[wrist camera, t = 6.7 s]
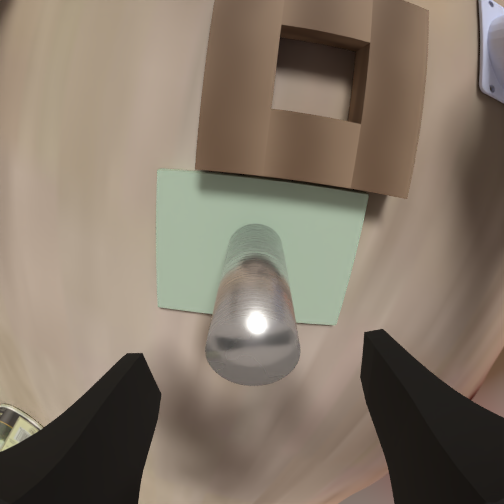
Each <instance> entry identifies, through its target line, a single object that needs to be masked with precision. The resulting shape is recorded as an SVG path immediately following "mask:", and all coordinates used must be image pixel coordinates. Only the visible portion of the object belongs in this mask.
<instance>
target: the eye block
mask: <svg viewBox="0 0 504 504" xmlns="http://www.w3.org/2000/svg"><path fill="white" fill-rule="evenodd" d="M428 34H429V10H426V9H424V8H422V7H419V6H417V5H414V4H411V3H409V2H406V1H403V0H215V2H214V8H213V14H212V21H211V27H210V34H209V41H208V48H207V56H206V64H205V72H204V80H203V89H202V98H201V107H200V117H199V128H198V139H197V151H196V163H195V169H196V170H208V171H219V172H230V173H239V174H249V175H258V176H266V177H275V178H283V179H290V180H298V181H305V182H312V183H319V184H325V185H332V186H338V187H344V188H350V189H356V190H362V191H368V192H373V193H379V194H384V195H389V196H394V197H399V198H404V199H407V197H408V192H409V187H410V183H411V178H412V173H413V168H414V162H415V157H416V151H417V145H418V139H419V132H420V125H421V118H422V110H423V102H424V93H425V83H426V71H427V57H428ZM280 38H287V39H294V40H301V41H307V42H312V43H318V44H323V45H328V46H333V47H337V48H342V49H346V50H350V51H355V52H356V56H355V66H354V75H353V84H352V92H351V101H350V108H349V116H348V121H344V120H338V119H333V118H328V117H322V116H317V115H311V114H305V113H298V112H292V111H285V110H277V109H271V106H272V98H273V90H274V81H275V73H276V65H277V57H278V48H279V40H280Z"/></svg>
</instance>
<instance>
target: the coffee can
mask: <svg viewBox="0 0 504 504" xmlns="http://www.w3.org/2000/svg"><path fill="white" fill-rule="evenodd" d="M42 428H43V427H42V426H41V425H40V424H39V423H38V422H37V421H35V420H34V419H33V418H31V417H30V416H29V415H27V414H26V413H24V412H23V411H21V410H19V409H17V408H15V407H13V406H11V405H8V404H1V405H0V452H1V451H3V450H6V449H8V448H10V447H12V446H14V445H16V444H18V443H20V442H21V441H23V440H25V439H26V438H28V437H30V436H31V435H33V434H35V433H36V432H38V431H40V430H41V429H42Z"/></svg>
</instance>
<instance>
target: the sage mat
mask: <svg viewBox="0 0 504 504" xmlns="http://www.w3.org/2000/svg"><path fill="white" fill-rule="evenodd" d="M368 197H369V194H367V193H366V192H360V191H354V190H348V189H342V188H336V187H329V186H323V185H316V184H309V183H302V182H295V181H287V180H280V179H272V178H263V177H254V176H245V175H236V174H226V173H215V172H203V171H191V170H177V169H162V168H160V169H159V170H157V200H156V269H157V298H158V307H162V308H169V309H176V310H183V311H191V312H199V313H207V314H213V310H214V305H215V301H216V296H217V292H218V287H219V283H220V278H221V274H222V269H223V265H224V261H225V256H226V252H227V248H228V243H229V240H230V238H231V236H232V235H233V233H234V232H235V231H236V230H238V229H239V228H241V227H242V226H245V225H248V224H262V225H266V226H268V227H270V228H271V229H273V230H274V231H275V232H276V233H277V234H278V235H279V237H280V239H281V241H282V245H283V251H284V256H285V262H286V267H287V273H288V278H289V284H290V290H291V296H292V301H293V307H294V313H295V319H296V323H309V324H324V325H336V324H337V320H338V317H339V314H340V310H341V307H342V303H343V300H344V296H345V293H346V289H347V286H348V282H349V278H350V274H351V271H352V267H353V263H354V259H355V255H356V251H357V247H358V243H359V238H360V234H361V230H362V225H363V221H364V216H365V212H366V207H367V202H368Z"/></svg>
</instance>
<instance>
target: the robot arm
mask: <svg viewBox="0 0 504 504" xmlns="http://www.w3.org/2000/svg"><path fill="white" fill-rule="evenodd" d="M478 2H479V17H480V76H479V87H480V90H481V91H482V92H483V93H485V94H487V95H489V96H491V97H492V98H494V99H496V100H498V101H500V102H502V103H504V8H503V7H502V6H500V5H499V4H497V3H496V2H494V1H493V0H478ZM489 4H490V5H489ZM490 87H491V91H490ZM360 378H361V382H362V387H363V391H364V395H365V400H366V404H367V407H368V409H369V412H370V415H371V418H372V421H373V423H374V426H375V429H376V432H377V435H378V438H379V440H380V443H381V446H382V449H383V452H384V455H385V458H386V462H387V465H388V470H389V475H390V480H391V485H392V491H393V497H394V503H395V504H504V418H503V417H501V416H499V415H497V414H495V413H493V412H491V411H489V410H487V409H485V408H483V407H481V406H479V405H478V404H476V403H474V402H473V401H471V400H469V399H468V398H466V397H465V396H463V395H461V394H460V393H458V392H457V391H455V390H454V389H453V388H451V387H450V386H448V385H447V384H446V383H444V382H443V381H442V380H440V379H439V378H438V377H436V376H435V375H434V374H433V373H432V372H430V371H429V370H428V369H427V368H426V367H424V366H423V365H422V364H421V363H420V362H419V361H417V360H416V359H415V358H414V357H413V356H412V355H411V354H409V353H408V352H407V351H406V350H405V349H404V348H403V347H402V346H401V345H400V344H399V343H397V342H396V341H395V340H394V339H393V338H392V337H391V336H390V335H389V334H388V333H387V332H385V331H384V330H383V329H380V330H374V331H369V332H364V345H363V356H362V366H361V375H360ZM160 400H161V392H160V390H159V388H158V386H157V384H156V382H155V380H154V378H153V376H152V373H151V371H150V369H149V367H148V365H147V362H146V360H145V358H144V356H143V353H127V354H126V355H125V356H123V357H122V358H121V359H120V360H119V361H118V362H117V363H116V364H115V365H114V366H113V367H112V368H111V369H110V370H109V371H108V372H107V373H106V374H105V375H104V376H103V377H102V378H101V379H100V380H99V381H97V382H96V383H95V384H94V385H93V386H92V387H91V388H90V389H89V390H88V391H87V392H86V393H85V394H84V395H83V396H82V397H81V398H80V399H78V400H77V401H76V402H75V403H74V404H73V405H72V406H71V407H69V408H68V409H67V410H66V411H65V412H64V413H62V414H61V415H60V416H59V417H57V418H56V419H55V420H54V421H52V422H51V423H49V424H48V425H47V426H45V427H44V428H42V429H41V430H40V431H38V432H36V433H35V434H33V435H31V436H30V437H28V438H26V439H25V440H23V441H21V442H20V443H18V444H16V445H14V446H12V447H10V448H8V449H6V450H3V451H1V452H0V504H138V499H139V491H140V484H141V478H142V474H143V469H144V466H145V462H146V459H147V455H148V452H149V448H150V445H151V441H152V438H153V434H154V431H155V427H156V423H157V420H158V414H159V407H160Z"/></svg>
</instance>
